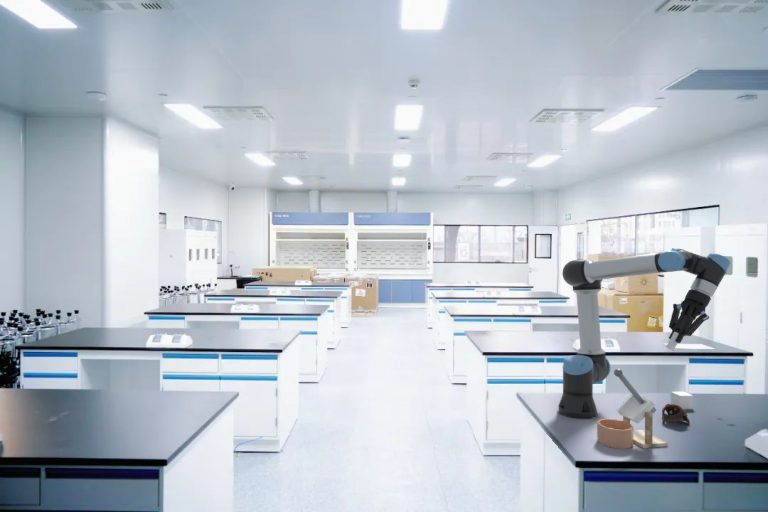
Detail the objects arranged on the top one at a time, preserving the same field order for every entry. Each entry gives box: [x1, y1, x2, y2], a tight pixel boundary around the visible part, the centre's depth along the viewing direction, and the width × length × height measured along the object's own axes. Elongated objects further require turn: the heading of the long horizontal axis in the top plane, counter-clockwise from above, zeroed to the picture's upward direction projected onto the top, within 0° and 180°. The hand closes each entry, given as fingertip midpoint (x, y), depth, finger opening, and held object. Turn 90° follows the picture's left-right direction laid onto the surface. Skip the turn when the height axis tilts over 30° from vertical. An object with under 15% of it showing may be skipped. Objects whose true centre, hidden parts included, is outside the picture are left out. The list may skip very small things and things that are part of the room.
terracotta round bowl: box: [596, 418, 634, 450], centre depth 170 cm, size 11×11×6 cm
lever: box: [613, 368, 657, 424], centre depth 171 cm, size 9×9×20 cm
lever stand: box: [622, 401, 668, 449], centre depth 172 cm, size 10×12×12 cm
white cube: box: [670, 391, 694, 410], centre depth 210 cm, size 6×6×6 cm
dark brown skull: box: [661, 403, 691, 425], centre depth 191 cm, size 12×10×8 cm
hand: (669, 348), depth 177 cm, fingers closed
